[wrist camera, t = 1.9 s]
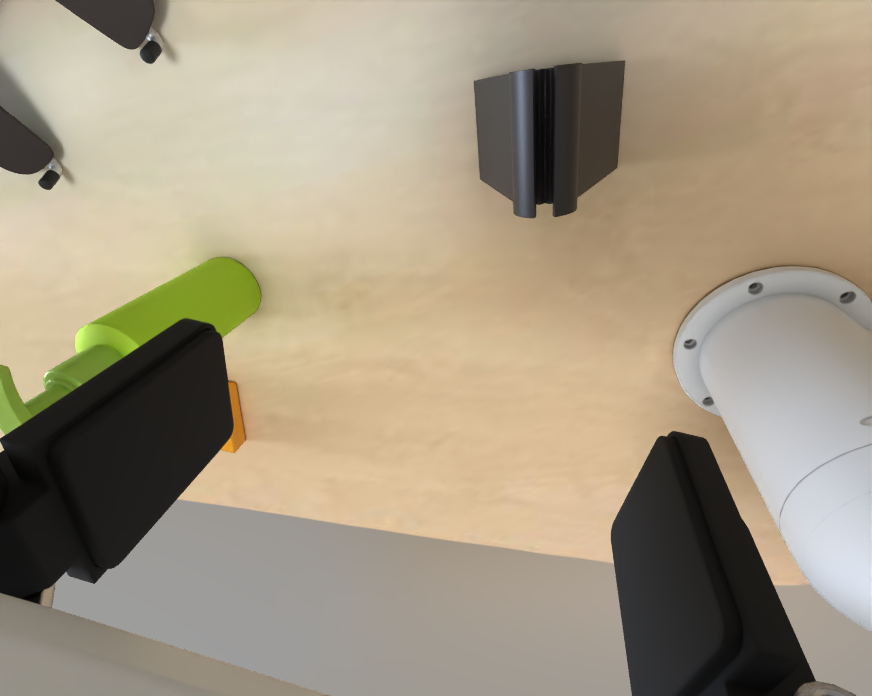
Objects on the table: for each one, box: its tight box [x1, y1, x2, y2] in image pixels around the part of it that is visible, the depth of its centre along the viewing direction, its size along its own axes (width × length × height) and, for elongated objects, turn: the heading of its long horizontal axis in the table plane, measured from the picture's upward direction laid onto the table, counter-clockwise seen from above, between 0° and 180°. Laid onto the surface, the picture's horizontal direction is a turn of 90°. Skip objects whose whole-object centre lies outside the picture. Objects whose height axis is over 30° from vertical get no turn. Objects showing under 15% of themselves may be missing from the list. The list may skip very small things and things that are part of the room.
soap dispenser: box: [0, 257, 261, 435], centre depth 33 cm, size 6×7×20 cm
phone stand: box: [474, 61, 625, 218], centre depth 25 cm, size 9×6×12 cm, turn 96°
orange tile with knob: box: [220, 381, 246, 453], centre depth 48 cm, size 8×8×4 cm
